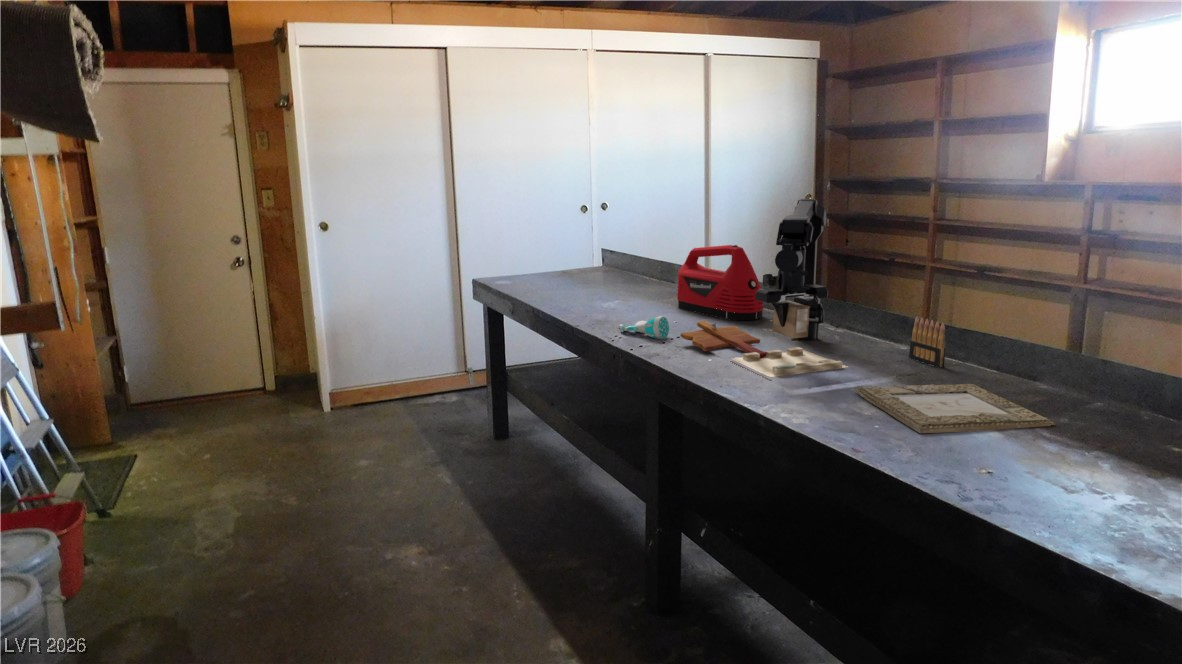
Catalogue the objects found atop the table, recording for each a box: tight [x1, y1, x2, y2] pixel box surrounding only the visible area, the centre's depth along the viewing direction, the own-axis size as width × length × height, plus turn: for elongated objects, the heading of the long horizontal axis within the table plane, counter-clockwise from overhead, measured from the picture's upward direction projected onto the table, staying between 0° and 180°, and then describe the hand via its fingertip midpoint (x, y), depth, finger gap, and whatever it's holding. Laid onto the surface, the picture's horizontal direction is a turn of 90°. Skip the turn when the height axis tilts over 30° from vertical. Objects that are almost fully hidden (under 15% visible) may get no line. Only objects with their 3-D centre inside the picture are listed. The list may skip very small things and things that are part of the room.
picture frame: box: [854, 383, 1056, 434], centre depth 160 cm, size 27×30×3 cm
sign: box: [679, 320, 766, 358], centre depth 213 cm, size 20×6×30 cm
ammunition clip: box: [908, 315, 946, 368], centre depth 195 cm, size 11×2×12 cm, turn 21°
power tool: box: [676, 244, 764, 321], centre depth 265 cm, size 16×40×25 cm, turn 33°
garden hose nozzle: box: [618, 315, 670, 340], centre depth 235 cm, size 7×18×20 cm
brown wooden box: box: [772, 300, 809, 339], centre depth 192 cm, size 4×9×8 cm, turn 20°
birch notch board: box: [729, 346, 849, 382], centre depth 194 cm, size 24×19×3 cm
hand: (790, 325), depth 192 cm, fingers closed on brown wooden box, 4 cm apart
